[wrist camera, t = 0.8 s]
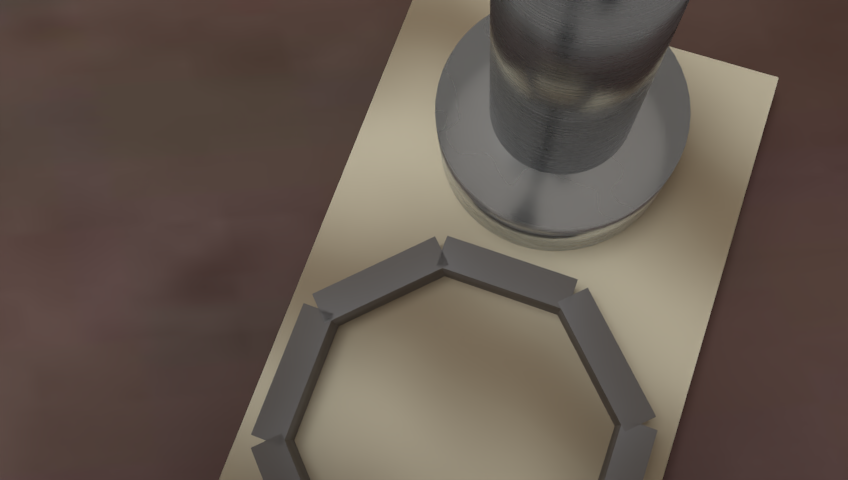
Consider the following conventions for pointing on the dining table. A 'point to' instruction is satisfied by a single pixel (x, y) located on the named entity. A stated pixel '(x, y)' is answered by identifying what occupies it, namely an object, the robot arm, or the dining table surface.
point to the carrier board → (494, 304)
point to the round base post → (563, 117)
